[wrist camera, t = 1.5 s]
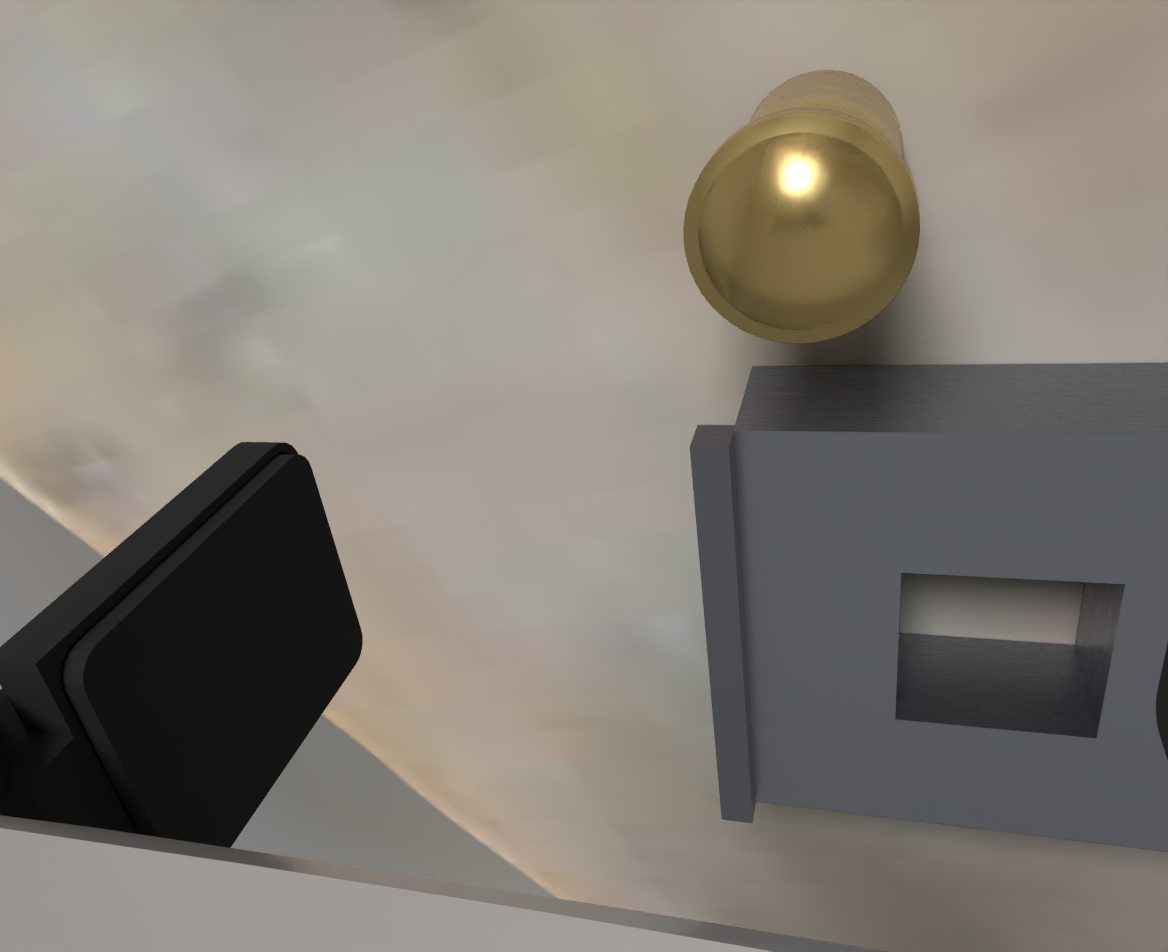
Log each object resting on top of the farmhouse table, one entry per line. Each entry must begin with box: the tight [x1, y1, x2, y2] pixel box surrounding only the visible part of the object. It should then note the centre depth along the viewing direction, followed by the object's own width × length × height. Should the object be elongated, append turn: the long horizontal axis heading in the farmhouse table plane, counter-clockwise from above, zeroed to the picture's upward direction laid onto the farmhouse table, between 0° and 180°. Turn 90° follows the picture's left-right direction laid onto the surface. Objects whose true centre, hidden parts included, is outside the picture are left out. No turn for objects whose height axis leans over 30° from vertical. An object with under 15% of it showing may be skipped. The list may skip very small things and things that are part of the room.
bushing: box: [684, 70, 920, 344], centre depth 22 cm, size 5×5×7 cm
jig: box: [690, 363, 1168, 852], centre depth 28 cm, size 14×16×5 cm
